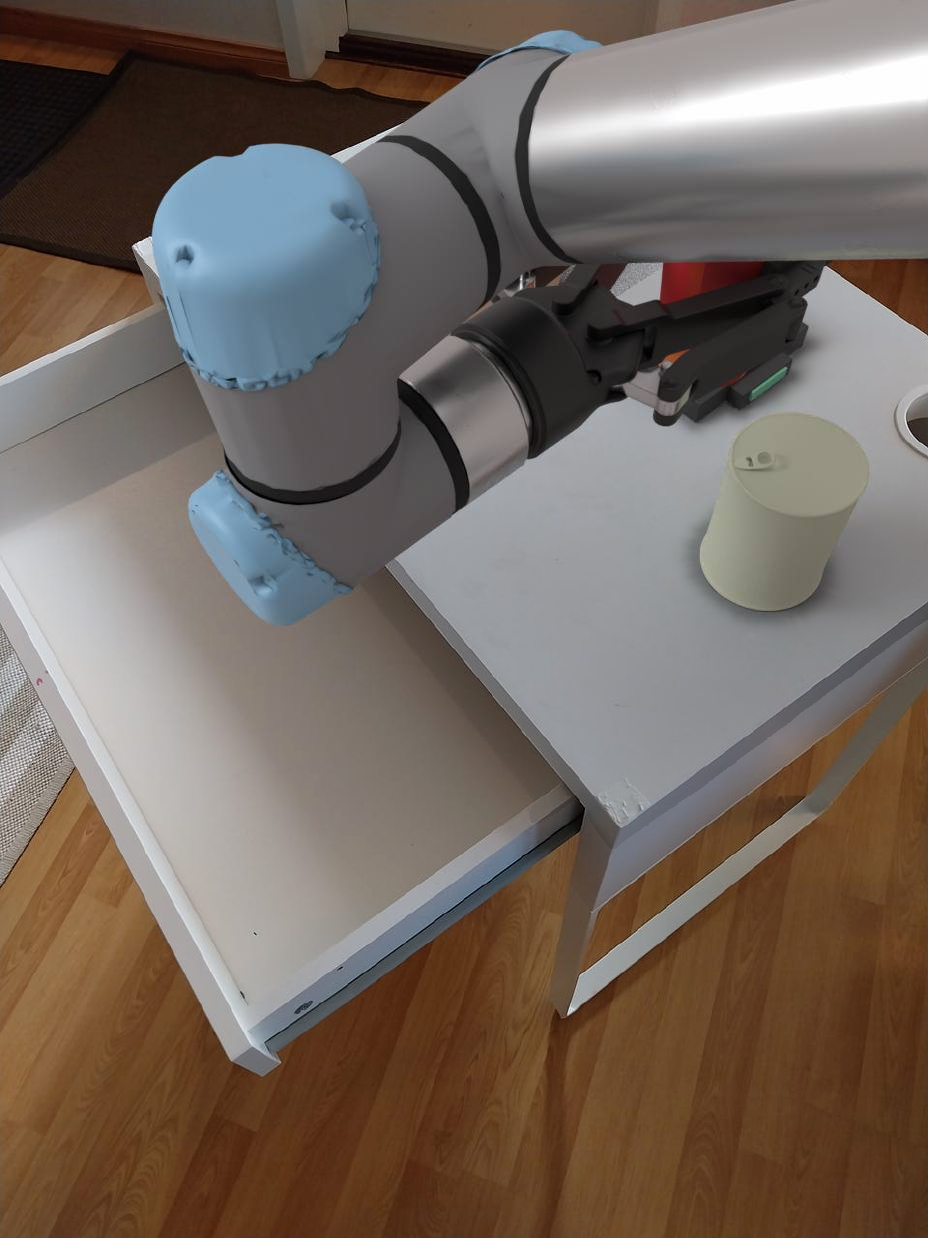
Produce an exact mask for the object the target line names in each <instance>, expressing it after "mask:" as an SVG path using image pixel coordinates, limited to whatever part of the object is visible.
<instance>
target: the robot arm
mask: <svg viewBox="0 0 928 1238" xmlns="http://www.w3.org/2000/svg"><path fill="white" fill-rule="evenodd" d="M151 245H152V253H153V259H154V262H155V265H156V270H157V274H158V281H159V284H160V285H159V286H160V289H161V292H162V296H163V299H164V303H165V306H166V310H167V312H168V317H169V319H170V323H171V326H172V329H173V336H174V339H175V341H176V343H177V344H178V348H179V350H180V352H181V353H182V354H181V355H182V356H183V358H184V362H185V363H186V364H187V366H188V367H189V370H190V372H191V375H192V377H193V379H194V382H195V383H196V386H197V388H198V390H199V392H200V395H201V397H202V400H203V402H204V404H205V406H206V408H207V411H208V413H209V415H210V417H211V421H212V422H213V424H214V427H215V430H216V432H217V434H218V437H219V439H220V441H221V446H222V454H223V458H224V462H225V465H226V468H224V469H220V470H216V471H215V472H214V473H213V475H212V477H211V478H210V479H208V480H207V481H206V482H205V483H203V484H202V485H201V486H199V487H198V488H197V489H195V490H194V491H193V492H192V493H191V495H190V497H189V498H188V506H187V511H188V519H189V522H190V524H191V527H192V529H193V531H194V533H195V535H196V537H197V539H198V541H199V542H200V543H201V546H202V547H203V549H204V551H205V552H206V554H207V556H208V557H209V558H210V560H211V561H212V563H213V564H214V566H215V567H216V569H217V570H218V572H219V573H220V574H221V576H222V577H223V579H224V580H225V581H226V583H227V584H228V585H229V586H230V588H231V589H232V590H233V591H234V593H235V594H236V595H237V596H238V597H239V599H240V600H241V601H242V603H244V604H245V605H246V606H247V607H248V609H249V610H251V611H252V612H253V613H254V614H255V615H256V616H257V617H258V618H260V619H261V620H263V621H264V622H266V623H267V624H270V625H273V626H276V627H289V626H293V625H295V624H297V623H299V622H301V621H303V620H304V619H305V618H307V617H308V616H310V615H311V614H313V613H315V612H316V611H318V610H319V609H321V608H322V607H324V606H325V605H327V604H329V603H330V602H332V601H333V600H335V599H336V598H338V597H339V596H347V595H348V594H351V593H352V592H353V591H355V588H357V586H359V585H360V584H361V583H363V582H364V581H366V580H367V579H369V578H370V577H371V576H373V575H374V574H375V573H377V572H378V571H379V570H381V569H382V568H383V567H385V566H386V565H388V564H389V563H390V562H392V561H393V560H394V559H396V558H397V557H399V556H400V555H401V554H403V553H404V552H405V551H407V550H408V549H410V548H411V547H413V546H414V545H415V544H417V543H418V542H419V541H420V540H422V539H423V538H425V537H426V536H428V535H429V534H431V532H433V531H434V530H436V529H438V527H440V526H441V525H443V524H444V523H446V522H447V521H448V520H449V519H451V518H452V516H454V514H456V513H458V512H459V511H461V510H462V509H464V508H465V507H467V506H468V505H470V504H471V503H473V502H474V501H475V500H477V499H478V498H480V496H482V495H484V494H485V493H487V492H488V491H490V490H491V489H493V488H494V487H495V486H497V485H498V484H499V483H500V482H503V480H505V479H506V478H507V477H509V476H510V475H512V474H513V473H515V472H516V471H517V470H519V469H520V468H522V467H523V466H524V465H525V463H526V461H527V460H533V459H536V458H538V457H539V456H541V455H542V454H543V453H545V452H546V451H548V450H549V449H550V448H552V447H553V446H555V445H556V444H558V443H559V442H561V441H562V440H563V439H564V438H566V437H567V436H569V435H571V434H572V433H573V432H575V431H576V430H578V429H579V428H580V427H581V426H582V425H584V423H585V422H586V421H587V420H588V419H589V418H590V417H591V416H592V415H593V414H594V413H595V411H597V410H598V409H599V408H600V407H603V406H605V405H609V404H614V403H619V402H622V401H625V400H626V399H628V398H631V399H632V400H634V401H637V402H639V403H641V404H643V405H645V406H648V407H649V408H652V409H653V413H652V420H653V422H654V423H655V424H657V425H658V426H659V427H671V426H673V425H675V424H676V423H677V422H678V420H679V419H680V418H681V417H682V416H683V415H684V414H683V413H684V412H685V410H686V409H687V408H688V407H689V406H690V404H691V403H692V402H694V401H696V400H697V399H699V398H701V397H703V396H704V395H706V394H708V393H710V392H712V391H713V390H715V389H717V388H719V387H721V386H722V385H724V384H726V383H728V382H729V381H731V380H733V379H735V378H737V377H738V376H740V375H742V374H744V373H746V372H747V371H749V370H751V369H753V368H755V367H756V366H758V365H760V364H762V363H763V362H765V361H767V360H769V359H771V358H772V357H774V356H776V355H778V354H780V353H781V352H783V351H785V350H787V349H788V348H790V347H792V346H793V345H794V344H795V342H796V339H797V336H798V333H799V330H800V327H801V324H802V322H803V321H804V319H805V315H806V311H807V308H808V306H809V303H808V301H807V299H806V298H804V297H805V296H806V295H807V294H809V293H810V292H811V291H813V290H814V289H816V288H817V287H818V284H819V283H820V281H821V277H822V274H823V272H824V268H825V267H826V266H828V265H829V264H831V263H832V262H833V261H854V260H857V261H859V260H861V261H862V260H904V259H905V260H913V259H914V260H916V259H919V260H921V259H923V260H924V259H928V0H791V1H787V2H783V3H779V4H775V5H772V6H767V7H766V6H765V7H762V8H758V9H754V10H750V11H746V12H741V13H737V14H732V15H728V16H723V17H720V18H717V19H712V20H708V21H704V22H700V23H696V24H692V25H686V26H683V27H679V28H673V29H670V30H666V31H661V32H658V33H653V34H649V35H645V36H642V37H637V38H633V39H628V40H623V41H620V42H619V41H618V42H615V43H612V44H608V45H603V44H601V43H600V42H598V41H595V40H589V39H587V38H586V37H584V36H582V35H579V34H577V33H576V32H574V31H571V30H563V29H559V30H549V31H544V32H542V33H538V34H536V35H534V36H533V37H531V38H528V39H527V40H525V41H524V42H522V43H521V44H520V43H519V45H516V46H513V47H510V48H508V49H505V50H504V51H501V52H499V53H496V54H494V55H492V56H490V57H488V58H487V59H485V60H484V61H483V62H482V63H480V64H479V65H478V66H477V68H476V69H475V70H474V71H473V72H472V73H470V74H469V75H468V76H467V77H466V78H465V79H464V80H463V81H461V82H460V83H458V84H457V85H455V86H454V87H452V88H451V89H450V90H448V91H447V92H446V93H445V92H444V94H442V95H441V96H439V97H438V98H437V99H435V100H434V101H432V102H431V103H429V104H428V105H427V106H425V107H423V109H421V110H420V111H418V112H417V113H415V114H414V115H412V116H411V117H410V118H408V119H407V120H405V121H404V122H403V123H401V124H400V125H398V126H397V127H396V128H394V129H393V130H391V131H390V132H389V133H387V134H385V136H383V137H381V138H380V139H378V140H377V141H375V142H374V143H373V142H372V143H371V144H369V145H368V146H366V147H364V148H363V149H362V150H360V151H359V152H357V153H355V154H354V155H353V156H351V157H350V158H348V159H347V160H345V161H344V162H341V161H340V160H338V159H337V158H335V157H333V156H332V155H329V154H327V153H325V152H322V151H320V150H317V149H314V148H311V147H307V146H303V145H295V144H287V143H262V144H256V145H250V146H248V147H247V149H245V151H244V152H242V154H239V155H238V154H237V155H234V156H223V155H214V156H212V157H210V158H208V159H206V160H204V161H202V162H200V163H199V164H197V165H196V166H194V167H193V168H191V169H190V170H189V171H187V172H186V173H185V174H183V175H182V176H180V178H179V179H178V180H176V181H175V182H174V183H173V184H172V186H171V187H170V189H168V191H167V192H166V193H165V195H164V197H163V198H162V200H161V201H160V203H159V206H158V208H157V210H156V213H155V216H154V219H153V223H152V231H151ZM741 261H765V264H764V268H763V272H762V276H760V277H757V278H754V279H750V280H747V281H743V282H740V283H736V284H733V285H729V286H726V287H722V288H719V289H716V290H712V291H709V292H705V293H702V294H698V295H695V296H691V297H688V298H684V299H681V300H678V301H674V302H671V303H667V304H662V303H661V301H660V300H657V299H656V300H651V301H648V302H644V303H641V304H637V305H634V306H633V305H631V304H629V303H626V302H624V301H621V300H619V299H617V298H616V297H617V296H616V295H614V293H613V292H612V288H613V287H614V286H615V284H616V283H617V281H618V280H619V278H620V277H621V276H622V274H623V272H624V271H625V270H626V268H627V266H628V265H629V264H663V263H680V262H741ZM572 266H573V268H572V270H571V271H570V272H569V274H568V275H567V277H566V278H565V279H564V281H561V282H559V285H558V286H547V285H548V284H549V283H550V282H551V281H553V280H554V279H555V278H556V277H558V276H559V275H560V274H561V273H562V274H563V273H564V272H565V271H567V270H568V269H569V268H570V267H572ZM545 286H547V287H545ZM490 300H491V302H492V303H493V304H492V305H491V306H489V307H487V308H486V309H484V310H483V311H481V312H479V313H478V314H476V315H475V316H473V317H471V318H470V319H468V318H469V317H470V316H472V315H473V314H475V313H476V312H477V311H478V310H479V309H481V308H482V307H483V306H484V305H485V304H486V303H488V302H489V301H490ZM467 319H468V320H467ZM466 320H467V321H466ZM464 321H465V322H464ZM691 348H692V349H691ZM688 349H690V350H689V351H687V352H685V353H684V354H683V355H681V356H680V357H679V358H678V359H677V360H676V361H675V362H674V363H673V362H672V361H670V360H665V361H663V360H664V359H665V358H666V357H667V356H669V355H671V354H675V353H678V352H681V351H685V350H688ZM662 361H663V362H662ZM661 362H662V364H661V367H659V368H657V369H656V370H654V371H652V372H647V373H646V372H641V371H640V370H644V369H647V368H650V367H654V366H657V365H659V364H660V363H661Z"/></svg>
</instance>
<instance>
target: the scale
mask: <svg viewBox="0 0 928 1238" xmlns="http://www.w3.org/2000/svg"><path fill="white" fill-rule="evenodd" d="M662 269H663V266H662V267H661V268H660V269H657V270H656V271H654V272H653V273H651V274H650V275H648V276H647V277H645V278H643V279H641V280H640V281H639V282H638V283H636V284H635V285H632V286H631V287H630V288H628V289H627V290H624V291H623V292H622V293H620V294H619V295H617V296H615V297H616V298H617V299H619V300H621V301H624V302H626V303H629V304H631V305H633V306H634V305H637V304H641V303H644V302H648V301H651V300H656V299H657V300H660V291H661V280H662ZM809 328H810V326H809V325H808V324H806V323H805V322H803V321H802V324H801V327H800V330H799V333H798V336H797V339H796V342H795V344H794V345H793V346H792V347H790V348H788V349H787V350H785V351H783V352H781V353H780V354H778V355H776V356H774V357H772V358H771V359H769V360H767V361H765V362H763V363H762V364H760V365H758V366H756V367H755V368H753V369H751V370H749V371H747V372H746V373H745V374H744V376H743V377H742V378H740V379H739V380H738V381H736V382H734V383H733V384H730V385H728V386H725V387H721V388H717V389H715V390H713V391H712V392H710V393H708V394H706V395H704V396H703V397H701V398H699V399H697V400H696V401H694V402H692V403H691V404H690V406H689V407H688V408H687V409H686V410H685V412H684V413H683V414H682V415H684V416H686V417H687V418H688V419H689V420H691V421H692V422H694V423H695V424H696V423H698V422H699V421H701V420H702V419H704V418H705V417H706V416H708V415H709V414H711V413H712V412H713V411H715V410H716V409H717V408H719V407H720V406H721V405H722V404H724V403H726V402H727V403H728V404H730V405H731V406H732V407H734V408H735V409H737V410H738V411H741V410H742V409H743V408H745V407H746V406H747V405H749V404H750V403H751V402H753V401H754V400H756V399H757V398H758V397H760V396H761V395H762V394H763V393H766V392H767V391H768V390H769V389H771V388H772V387H773V386H774V385H776V384H777V383H778V382H780V381H781V380H783V379H784V378H785V377H787V376H788V375H789V373H790V369H791V367H792V364H793V361H794V358H792V357H791V356H790V355H791V354H793V353H794V352H795V351H797V350H798V349H800V348H801V347H802V346H803V345H804V342H805V340H806V337H807V334H808V330H809ZM659 367H660V365H657V366H654V367H650V368H647V369H644V370H640V371H641V372H646V373H647V372H652V371H654V370H656V369H657V368H659Z"/></svg>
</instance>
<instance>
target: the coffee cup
mask: <svg viewBox="0 0 928 1238" xmlns="http://www.w3.org/2000/svg"><path fill="white" fill-rule="evenodd" d="M764 264H765V261H741V262H680V263H662V267H663V269H662V280H661V291H660V301H661V303H662V304H667V303H671V302H674V301H678V300H681V299H684V298H688V297H691V296H695V295H698V294H702V293H705V292H709V291H712V290H716V289H719V288H722V287H726V286H729V285H733V284H736V283H740V282H743V281H747V280H750V279H754V278H757V277H760V276H762V272H763V268H764ZM691 349H692V348H691ZM689 350H690V349H688V350H685V351H681V352H678V353H675V354H671V355H669V356H667V357H666V358H665V359H664V360H663V361H665V360H670V361H672V362H673V363H674V362H675V361H676V360H677V359H678V358H679V357H680V356H681V355H683V354H684V353H685V352H687V351H689ZM663 361H662V362H663ZM662 362H661V363H660V364H659V365H660V367H661V364H662ZM744 374H745V373H744ZM744 374H742V375H740V376H738V377H737V378H735V379H733V380H731V381H729V382H728V383H726V384H724V385H722V386H721V387H725V386H728V385H730V384H733V383H734V382H736V381H738V380H739V379H740V378H742V377H743V376H744ZM721 387H719V388H721Z"/></svg>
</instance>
